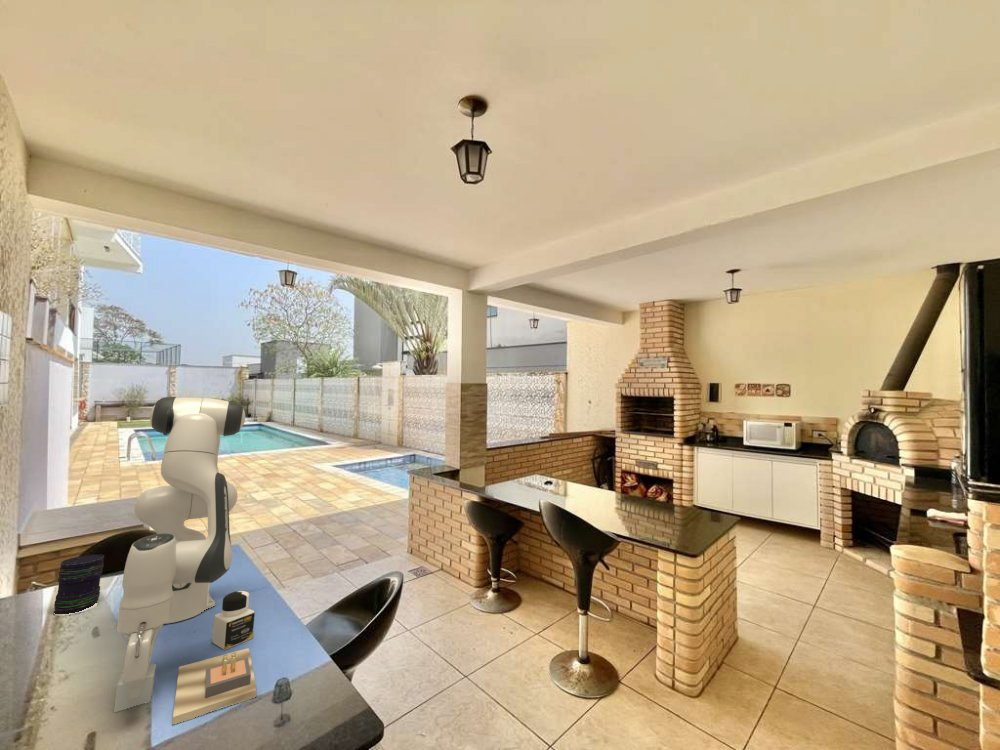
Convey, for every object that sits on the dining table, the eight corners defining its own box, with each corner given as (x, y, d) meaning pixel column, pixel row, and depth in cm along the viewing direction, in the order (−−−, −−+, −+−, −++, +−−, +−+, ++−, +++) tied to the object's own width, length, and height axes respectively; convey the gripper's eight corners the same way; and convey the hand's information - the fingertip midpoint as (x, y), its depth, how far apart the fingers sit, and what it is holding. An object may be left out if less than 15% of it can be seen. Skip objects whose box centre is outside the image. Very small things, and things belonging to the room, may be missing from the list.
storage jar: (107, 603, 130) (113, 555, 132) (72, 617, 120) (79, 565, 122) (80, 601, 131) (86, 553, 132) (43, 615, 121) (50, 563, 123)
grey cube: (118, 697, 85) (121, 672, 86) (153, 687, 88) (155, 663, 89) (113, 712, 81) (117, 685, 81) (150, 701, 84) (153, 676, 85)
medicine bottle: (224, 650, 103) (228, 601, 104) (211, 642, 107) (215, 595, 108) (253, 638, 109) (256, 592, 111) (240, 631, 113) (243, 586, 114)
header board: (178, 673, 93) (181, 643, 94) (248, 654, 102) (250, 626, 102) (172, 725, 77) (175, 688, 78) (255, 697, 86) (258, 664, 86)
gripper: (160, 629, 80) (152, 705, 78) (167, 595, 97) (161, 657, 95) (117, 639, 76) (107, 718, 75) (132, 602, 93) (125, 666, 91)
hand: (137, 684), depth 85 cm, fingers open, 8 cm apart
